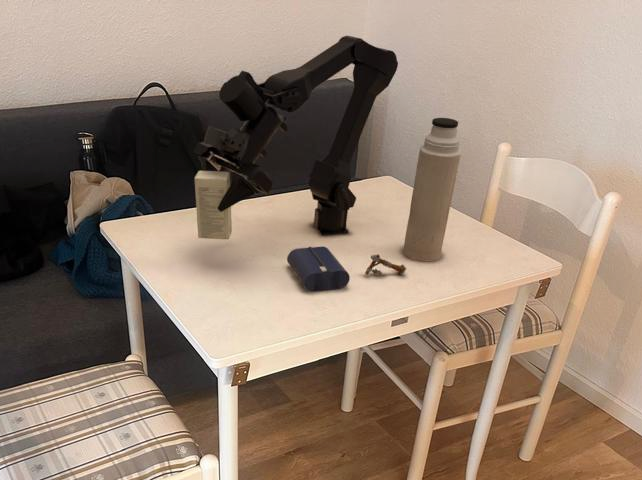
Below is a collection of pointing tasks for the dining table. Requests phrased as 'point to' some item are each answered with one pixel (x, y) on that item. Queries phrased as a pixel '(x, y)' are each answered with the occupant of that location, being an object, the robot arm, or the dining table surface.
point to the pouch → (318, 269)
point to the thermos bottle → (432, 191)
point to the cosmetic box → (212, 205)
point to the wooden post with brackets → (386, 263)
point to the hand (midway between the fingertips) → (207, 204)
